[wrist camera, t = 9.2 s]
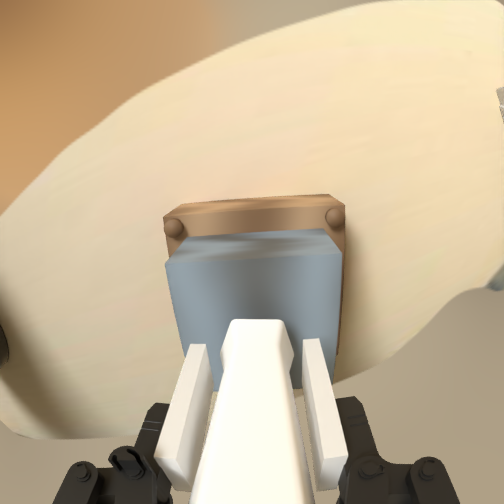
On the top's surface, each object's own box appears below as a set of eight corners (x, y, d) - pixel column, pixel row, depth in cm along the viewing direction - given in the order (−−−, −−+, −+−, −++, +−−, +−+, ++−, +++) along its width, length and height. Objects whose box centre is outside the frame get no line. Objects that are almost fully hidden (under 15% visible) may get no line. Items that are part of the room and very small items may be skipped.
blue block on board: (201, 329, 28) (177, 404, 18) (181, 204, 24) (133, 238, 15) (326, 322, 27) (351, 397, 18) (328, 194, 23) (370, 222, 14)
